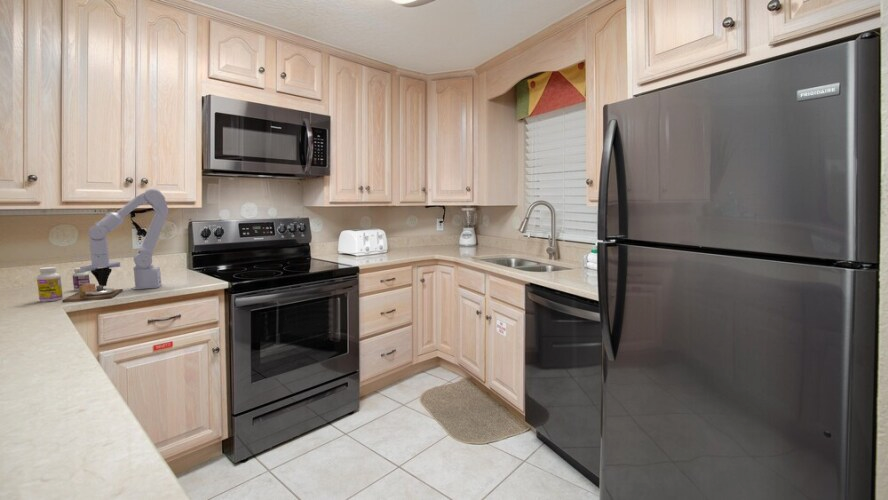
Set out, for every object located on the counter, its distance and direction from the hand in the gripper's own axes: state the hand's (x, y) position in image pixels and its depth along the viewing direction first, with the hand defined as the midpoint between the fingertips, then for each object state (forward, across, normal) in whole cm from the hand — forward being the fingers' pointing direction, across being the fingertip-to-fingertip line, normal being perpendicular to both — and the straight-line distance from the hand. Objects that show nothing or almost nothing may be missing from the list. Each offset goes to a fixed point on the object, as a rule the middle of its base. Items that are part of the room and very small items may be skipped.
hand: (103, 286), depth 174 cm
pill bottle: (+3, -1, -14) cm, 14 cm away
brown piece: (+3, +7, +5) cm, 9 cm away
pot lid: (+1, +6, +5) cm, 8 cm away
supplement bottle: (+3, +16, -4) cm, 17 cm away
